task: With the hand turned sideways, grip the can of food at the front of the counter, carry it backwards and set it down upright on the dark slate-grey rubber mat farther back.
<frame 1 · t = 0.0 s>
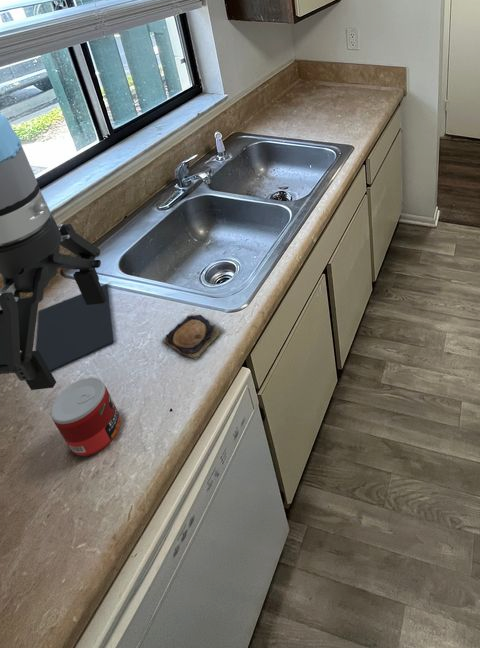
hand: (73, 340, 64), 31 cm above the worktop, tool pointing down, fingers open, 13 cm apart
mat: (75, 326, 102), on the worktop
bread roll: (193, 337, 99), on the worktop
canned food: (97, 434, 81), on the worktop
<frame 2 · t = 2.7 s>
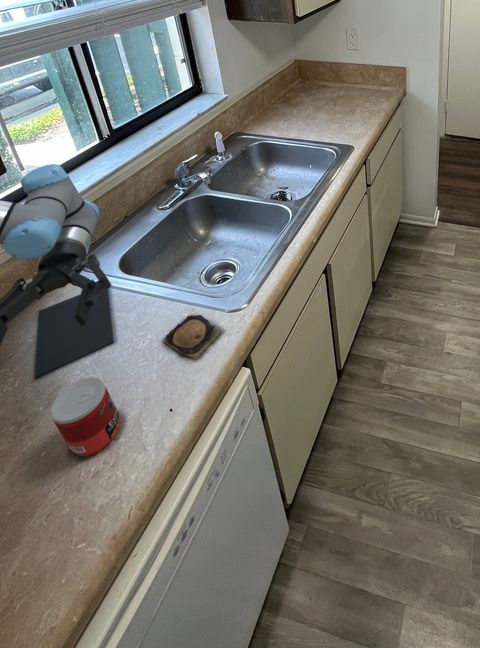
hand: (34, 337, 75), 22 cm above the worktop, tool horizontal, fingers open, 13 cm apart
nothing on the worktop moved.
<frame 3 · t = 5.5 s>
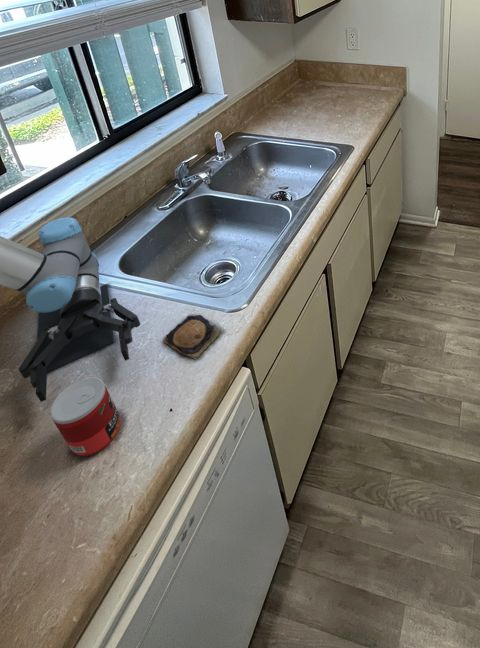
hand: (84, 375, 84), 7 cm above the worktop, tool horizontal, fingers open, 13 cm apart
nothing on the worktop moved.
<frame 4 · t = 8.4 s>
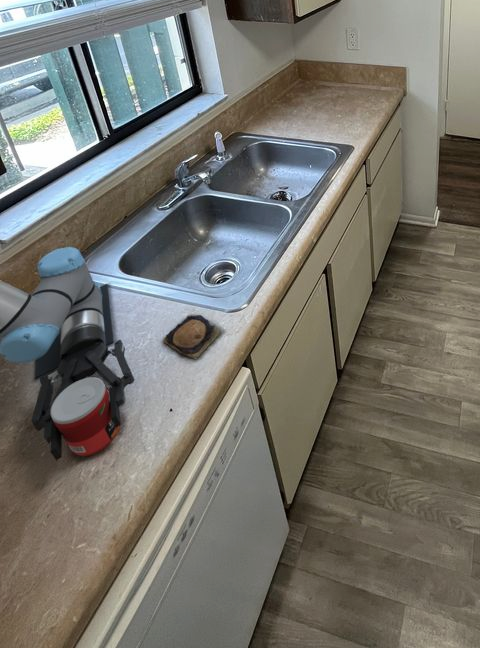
hand: (87, 437, 75), 6 cm above the worktop, tool horizontal, fingers closed on canned food, 8 cm apart
canned food: (97, 434, 81), on the worktop, touching gripper
everything else where it was.
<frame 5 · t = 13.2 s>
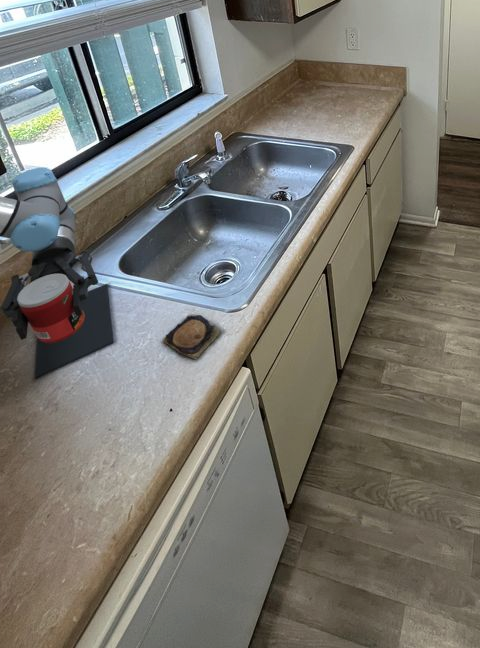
hand: (50, 322, 82), 18 cm above the worktop, tool horizontal, fingers closed on canned food, 8 cm apart
canned food: (63, 328, 89), point 11 cm above the worktop, touching gripper
everything else where it was.
when the fingers open (7 cm above the worktop, at t = 18.2 s): canned food stays where it is, resting on mat.
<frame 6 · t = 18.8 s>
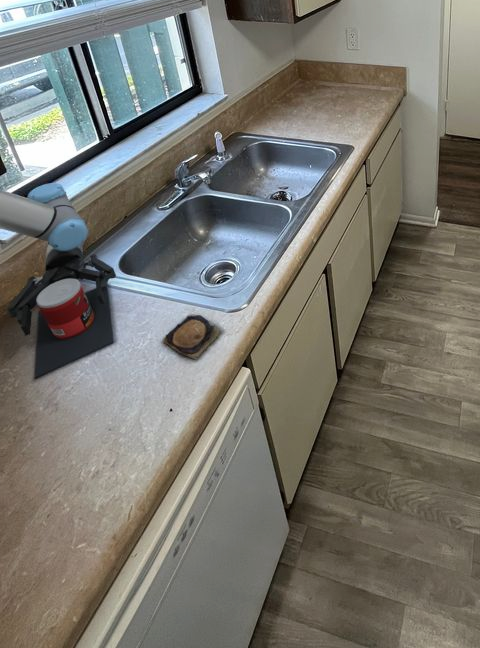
hand: (64, 314, 96), 7 cm above the worktop, tool horizontal, fingers open, 13 cm apart
canned food: (75, 325, 102), resting on mat
everything else where it was.
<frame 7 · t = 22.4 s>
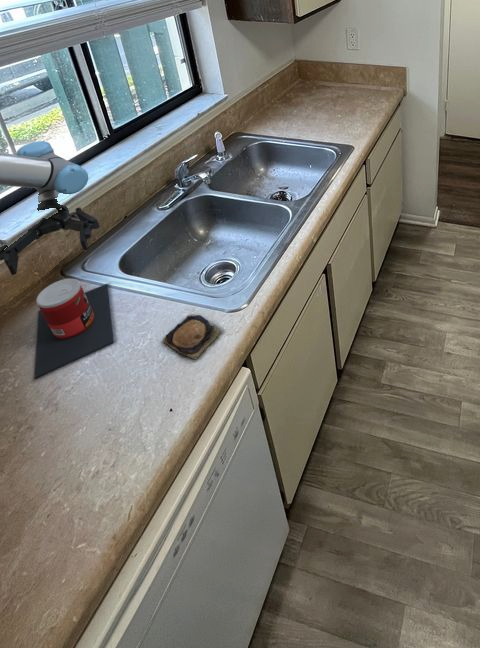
hand: (49, 257, 102), 14 cm above the worktop, tool horizontal, fingers open, 13 cm apart
nothing on the worktop moved.
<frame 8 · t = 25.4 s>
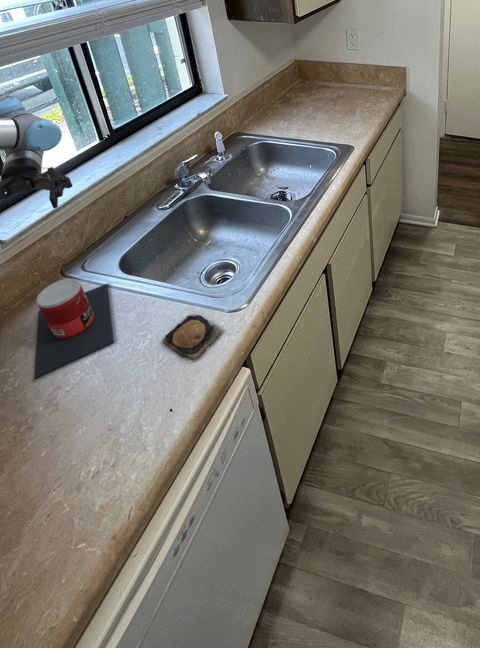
hand: (15, 214, 95), 28 cm above the worktop, tool horizontal, fingers open, 13 cm apart
nothing on the worktop moved.
at the end: canned food inside the target area on the mat (0.0 cm from its centre), point 0.3 cm above the mat's base; canned food tilted 0°; the gripper is holding nothing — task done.
